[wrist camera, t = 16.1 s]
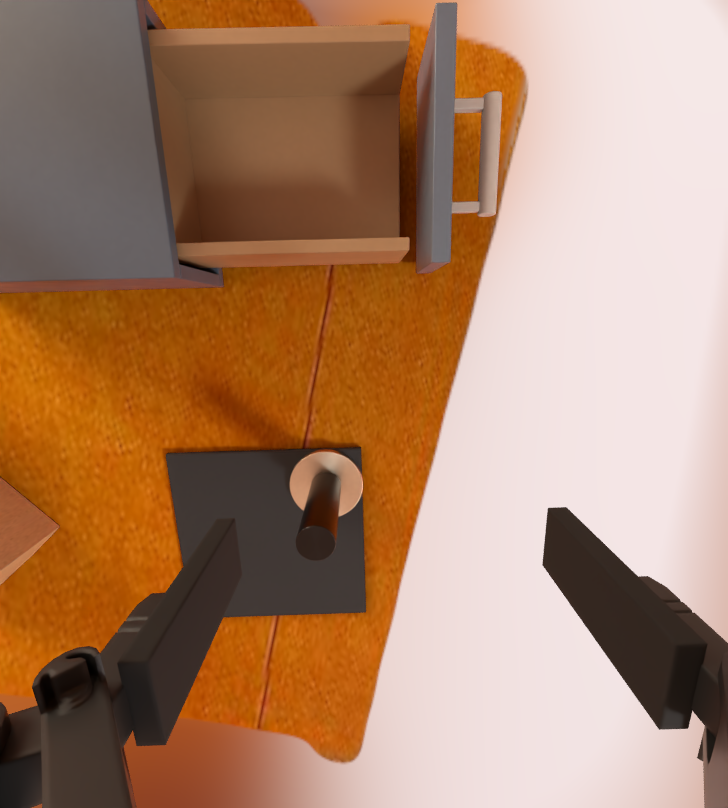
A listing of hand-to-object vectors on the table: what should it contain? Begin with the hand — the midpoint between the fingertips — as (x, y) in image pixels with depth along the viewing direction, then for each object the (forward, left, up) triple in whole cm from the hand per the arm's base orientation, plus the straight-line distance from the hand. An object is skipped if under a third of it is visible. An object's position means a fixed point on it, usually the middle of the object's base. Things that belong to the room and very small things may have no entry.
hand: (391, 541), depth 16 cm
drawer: (+3, -19, -18) cm, 27 cm away
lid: (+5, +6, -19) cm, 20 cm away
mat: (+10, +12, -19) cm, 25 cm away
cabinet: (+22, -19, -19) cm, 35 cm away
